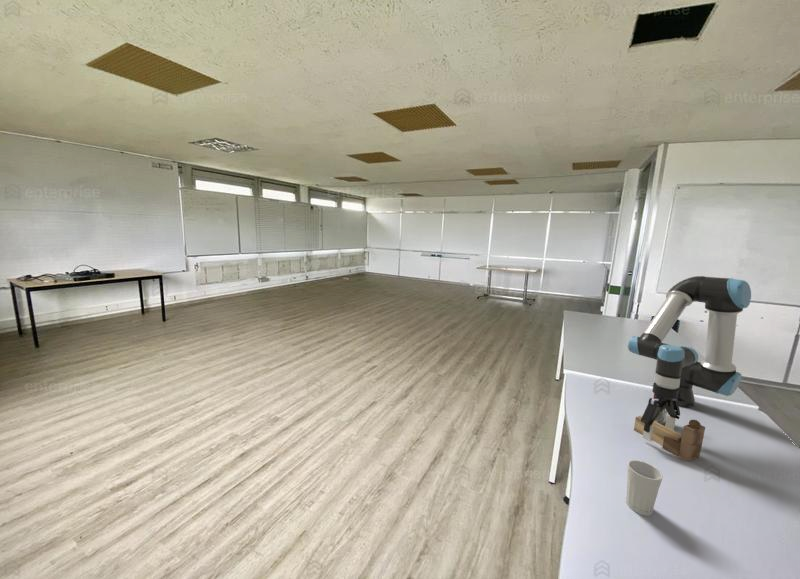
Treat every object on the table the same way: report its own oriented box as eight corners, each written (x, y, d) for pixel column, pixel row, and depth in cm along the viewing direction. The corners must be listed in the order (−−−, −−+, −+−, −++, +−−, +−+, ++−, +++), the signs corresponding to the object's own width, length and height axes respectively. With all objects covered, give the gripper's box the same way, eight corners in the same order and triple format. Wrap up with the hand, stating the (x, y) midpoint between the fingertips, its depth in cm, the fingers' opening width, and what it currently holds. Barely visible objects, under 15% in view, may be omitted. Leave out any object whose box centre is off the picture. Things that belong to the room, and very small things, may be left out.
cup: (615, 496, 96) (621, 460, 94) (640, 495, 97) (645, 459, 95) (637, 518, 88) (643, 480, 87) (663, 517, 89) (670, 479, 87)
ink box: (666, 421, 139) (671, 390, 137) (659, 426, 135) (664, 394, 133) (656, 417, 142) (661, 387, 140) (649, 422, 138) (654, 391, 136)
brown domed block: (675, 443, 123) (681, 409, 121) (700, 457, 116) (707, 420, 114) (662, 448, 120) (668, 412, 118) (687, 461, 113) (694, 424, 111)
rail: (640, 428, 133) (642, 415, 132) (684, 451, 119) (686, 436, 118) (633, 430, 132) (635, 416, 131) (677, 453, 117) (680, 438, 116)
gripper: (674, 376, 130) (667, 424, 133) (634, 385, 121) (627, 436, 125) (697, 384, 123) (688, 434, 126) (655, 394, 114) (647, 447, 118)
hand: (658, 435), depth 126 cm, fingers open, 13 cm apart
